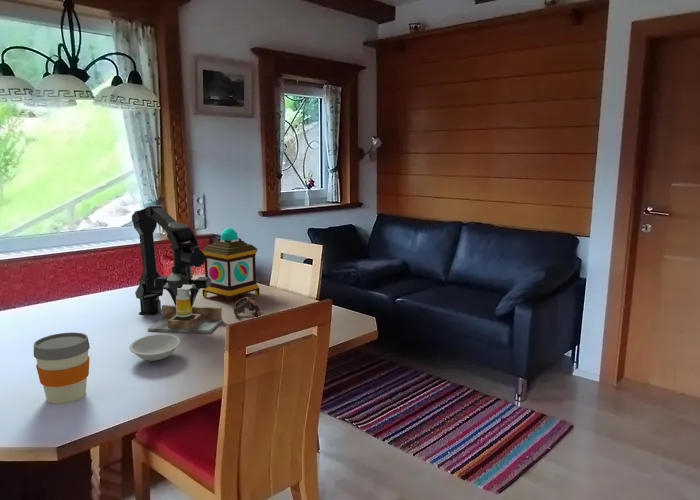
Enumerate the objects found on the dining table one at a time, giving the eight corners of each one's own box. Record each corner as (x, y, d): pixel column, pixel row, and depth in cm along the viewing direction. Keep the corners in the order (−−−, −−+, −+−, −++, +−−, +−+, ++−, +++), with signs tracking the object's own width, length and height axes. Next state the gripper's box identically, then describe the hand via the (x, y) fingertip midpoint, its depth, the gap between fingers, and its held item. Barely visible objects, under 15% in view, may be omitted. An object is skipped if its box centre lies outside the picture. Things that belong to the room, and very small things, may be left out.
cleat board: (148, 331, 187) (147, 316, 186) (165, 318, 201) (164, 304, 200) (209, 333, 185) (208, 318, 184) (222, 320, 199) (222, 306, 198)
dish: (178, 369, 156) (177, 352, 155) (125, 372, 153) (124, 356, 152) (183, 347, 172) (183, 332, 172) (136, 350, 170) (135, 335, 169)
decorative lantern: (233, 288, 246) (231, 223, 240) (264, 295, 234) (262, 227, 229) (197, 297, 230) (194, 228, 224) (229, 305, 218) (226, 232, 213)
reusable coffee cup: (66, 382, 146) (61, 330, 143) (104, 389, 142) (100, 334, 140) (26, 403, 134) (20, 346, 131) (67, 410, 130) (61, 352, 128)
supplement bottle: (175, 313, 193) (174, 287, 191) (191, 312, 195) (189, 286, 193) (177, 318, 188) (176, 291, 186) (193, 316, 190) (192, 290, 188)
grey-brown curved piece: (260, 320, 201) (248, 303, 198) (239, 330, 203) (227, 313, 200) (266, 304, 212) (255, 287, 209) (245, 313, 214) (234, 296, 211)
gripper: (145, 266, 181) (148, 311, 184) (199, 268, 179) (201, 313, 182) (160, 259, 192) (162, 302, 195) (211, 261, 190) (212, 304, 193)
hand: (184, 305), depth 191 cm, fingers closed on supplement bottle, 5 cm apart
